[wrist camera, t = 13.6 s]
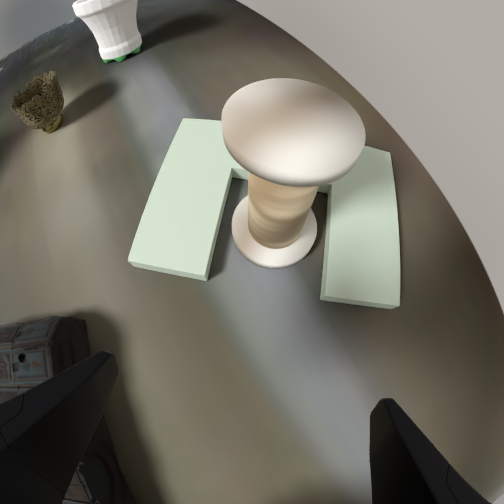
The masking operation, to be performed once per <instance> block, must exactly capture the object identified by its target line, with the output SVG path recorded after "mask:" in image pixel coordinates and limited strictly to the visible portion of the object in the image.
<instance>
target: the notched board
mask: <svg viewBox="0 0 504 504" xmlns="http://www.w3.org/2000/svg"><path fill="white" fill-rule="evenodd" d="M232 178H239V179H246V180H248V171H247V170H245V169H244V168H243V167H241V166H240V165H239V164H238V163H237V162H236V161H235V160H234V159H233V158H232V156H231V155H230V153H229V152H228V150H227V148H226V146H225V143H224V139H223V132H222V121H215V120H202V119H184V118H183V120H182V122H181V124H180V126H179V129H178V131H177V133H176V135H175V137H174V139H173V141H172V144H171V146H170V148H169V150H168V153H167V155H166V157H165V160H164V162H163V164H162V167H161V169H160V171H159V174H158V176H157V179H156V181H155V184H154V186H153V189H152V191H151V194H150V196H149V199H148V202H147V204H146V207H145V210H144V213H143V215H142V218H141V221H140V224H139V227H138V230H137V233H136V236H135V239H134V242H133V245H132V248H131V251H130V254H129V257H128V261H129V262H130V263H131V264H132V265H133V266H134V267H139V268H144V269H149V270H153V271H158V272H163V273H168V274H173V275H178V276H183V277H189V278H194V279H199V280H204V281H207V280H208V275H209V271H210V266H211V262H212V258H213V253H214V249H215V245H216V241H217V236H218V232H219V228H220V224H221V220H222V216H223V212H224V208H225V204H226V200H227V196H228V192H229V188H230V184H231V180H232ZM318 192H323V193H328V200H327V220H326V236H325V250H324V262H323V273H322V284H321V293H320V300H325V301H332V302H339V303H347V304H354V305H362V306H369V307H377V308H386V309H393V308H395V307H398V306H400V245H399V226H398V213H397V202H396V193H395V184H394V176H393V169H392V162H391V156H390V153H389V152H386V151H382V150H379V149H375V148H371V147H368V146H364V147H363V150H362V152H361V154H360V156H359V158H358V160H357V162H356V163H355V165H354V167H353V168H352V169H351V170H350V172H349V173H347V174H346V175H345V176H344V177H342V178H340V179H339V180H337V181H334V182H332V183H329V184H326V185H322V186H319V188H318Z"/></svg>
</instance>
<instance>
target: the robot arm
mask: <svg viewBox="0 0 504 504" xmlns="http://www.w3.org/2000/svg"><path fill="white" fill-rule="evenodd" d="M117 375H118V367H117V363H116V359H115V355H114V354H113V353H111V352H109V351H106V350H102V351H100V352H98V353H96V354H94V355H92V356H90V357H89V358H87V359H85V360H83V361H81V362H79V363H78V364H76V365H74V366H72V367H70V368H68V369H67V370H65V371H63V372H61V373H59V374H57V375H55V376H54V377H52V378H50V379H48V380H46V381H44V382H42V383H41V384H39V385H37V386H35V387H33V388H31V389H29V390H27V391H26V392H25V393H22V394H20V395H18V396H16V397H14V398H12V399H10V400H8V401H6V402H3V403H1V404H0V504H62V502H63V500H64V497H65V494H66V492H67V490H68V487H69V485H70V483H71V480H72V478H73V476H74V474H75V471H76V469H77V467H78V465H79V462H80V460H81V458H82V456H83V454H84V451H85V449H86V447H87V445H88V443H89V441H90V439H91V437H92V434H93V432H94V430H95V428H96V426H97V424H98V422H99V420H100V418H101V416H102V414H103V412H104V410H105V407H106V405H107V402H108V399H109V396H110V394H111V391H112V388H113V385H114V383H115V380H116V378H117ZM370 468H371V484H372V504H491V503H490V502H488V501H487V500H486V499H485V498H484V497H482V496H481V495H480V494H479V493H478V492H477V491H476V490H475V489H474V488H472V487H471V486H470V485H469V484H468V483H467V482H466V481H465V480H464V479H463V478H462V477H461V476H460V475H459V474H458V472H457V471H456V470H455V469H454V468H453V467H452V466H451V465H450V464H449V462H448V461H447V460H446V459H445V458H444V457H443V455H442V454H441V453H440V452H439V451H438V450H437V448H436V447H435V446H434V445H433V444H432V443H431V442H430V440H429V439H428V438H427V437H426V436H425V435H424V434H423V432H422V431H421V430H420V429H419V428H418V427H417V426H416V424H415V423H414V422H413V421H412V420H411V419H410V418H409V416H408V415H407V414H406V413H405V412H404V411H403V410H402V408H401V407H400V406H399V405H398V404H397V403H396V402H395V401H394V400H393V399H392V398H383V399H381V400H380V401H379V402H378V404H377V405H376V406H375V408H374V409H373V411H372V412H371V415H370Z"/></svg>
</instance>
